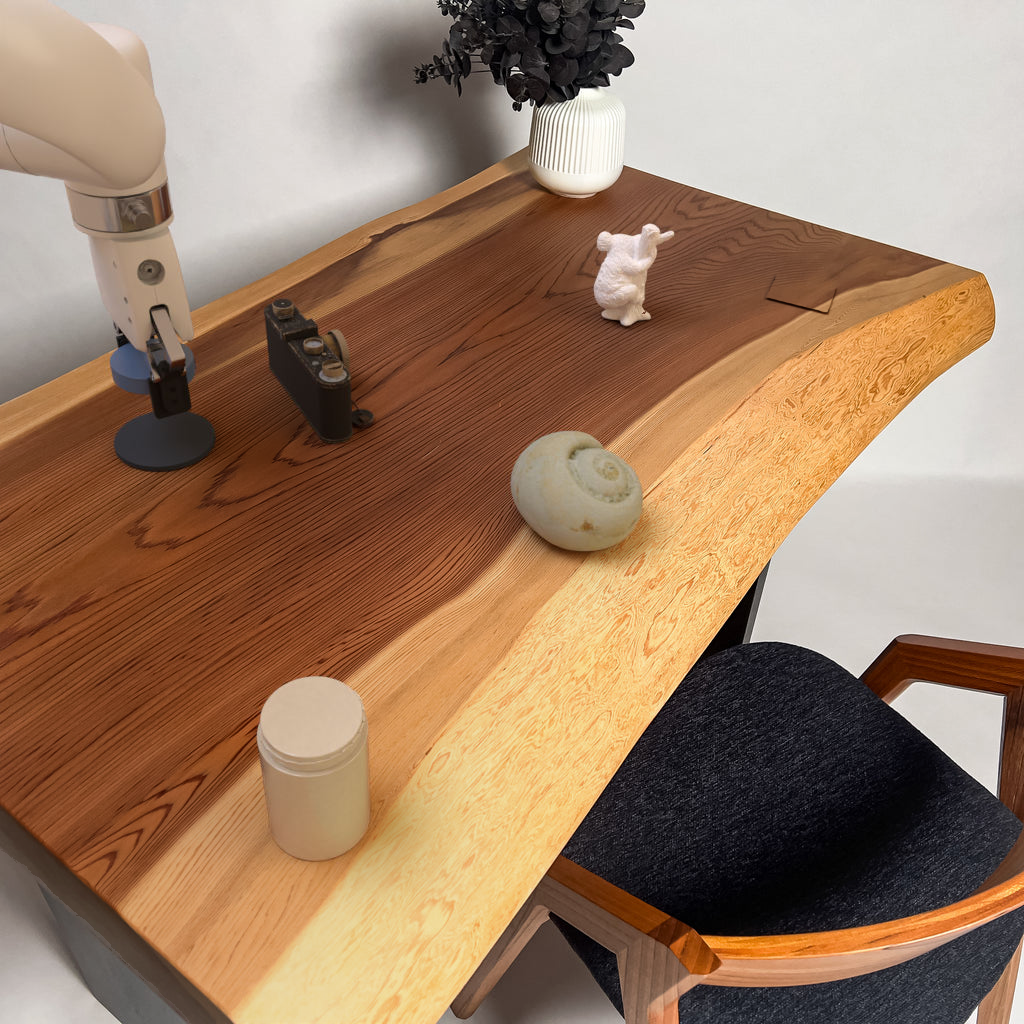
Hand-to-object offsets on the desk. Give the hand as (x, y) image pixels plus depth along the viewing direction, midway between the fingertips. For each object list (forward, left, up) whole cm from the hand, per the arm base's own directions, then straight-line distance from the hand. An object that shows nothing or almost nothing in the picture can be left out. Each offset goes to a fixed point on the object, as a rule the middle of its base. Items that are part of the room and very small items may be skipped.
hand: (157, 390), depth 87 cm
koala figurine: (+55, -2, -6) cm, 55 cm away
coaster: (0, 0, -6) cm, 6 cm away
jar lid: (0, 0, +3) cm, 3 cm away
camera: (+16, 0, -6) cm, 17 cm away
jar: (-6, -43, -6) cm, 44 cm away
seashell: (+26, -28, -6) cm, 39 cm away
